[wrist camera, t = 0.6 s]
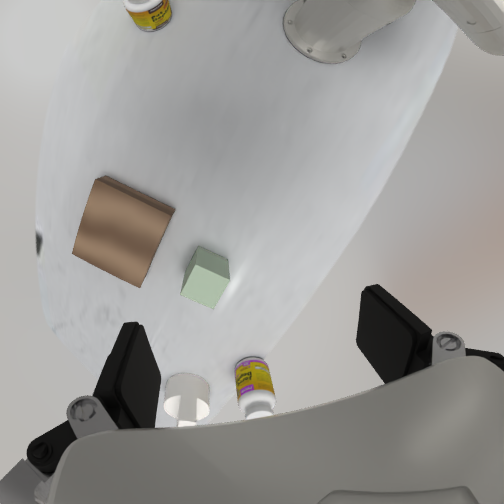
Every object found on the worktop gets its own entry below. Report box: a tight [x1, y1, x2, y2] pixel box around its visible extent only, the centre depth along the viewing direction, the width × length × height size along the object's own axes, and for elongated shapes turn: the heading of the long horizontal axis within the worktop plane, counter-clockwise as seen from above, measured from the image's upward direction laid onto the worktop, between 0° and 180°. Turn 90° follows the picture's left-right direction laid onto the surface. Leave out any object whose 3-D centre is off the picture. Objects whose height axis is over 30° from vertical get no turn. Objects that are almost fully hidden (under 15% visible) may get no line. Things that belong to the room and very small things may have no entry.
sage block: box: [180, 246, 230, 309], centre depth 40 cm, size 5×5×7 cm
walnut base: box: [72, 176, 175, 288], centre depth 37 cm, size 12×12×4 cm
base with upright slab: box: [164, 373, 210, 427], centre depth 46 cm, size 9×9×12 cm
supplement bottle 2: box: [235, 357, 276, 420], centre depth 46 cm, size 7×7×13 cm
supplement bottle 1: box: [123, 0, 172, 31], centre depth 23 cm, size 6×6×10 cm
